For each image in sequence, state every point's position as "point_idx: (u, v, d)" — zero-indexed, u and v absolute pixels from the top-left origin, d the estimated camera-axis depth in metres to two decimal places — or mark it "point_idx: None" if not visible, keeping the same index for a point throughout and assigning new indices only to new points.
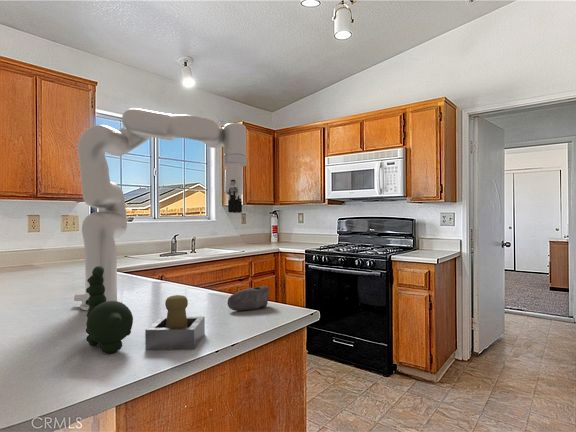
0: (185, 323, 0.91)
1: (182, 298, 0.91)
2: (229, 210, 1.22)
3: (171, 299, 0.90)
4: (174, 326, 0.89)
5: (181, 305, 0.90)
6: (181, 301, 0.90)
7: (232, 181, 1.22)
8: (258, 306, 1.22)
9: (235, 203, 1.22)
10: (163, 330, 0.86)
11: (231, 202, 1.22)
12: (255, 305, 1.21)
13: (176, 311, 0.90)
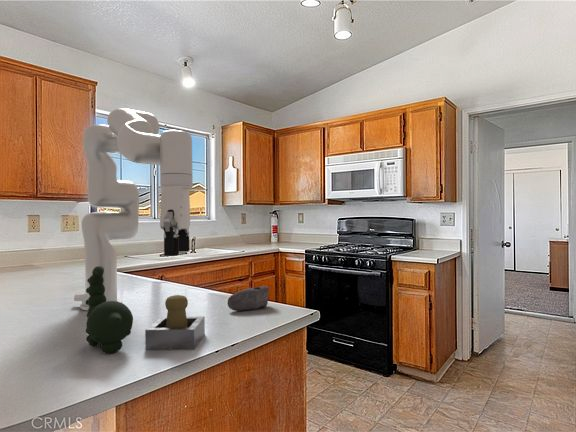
0: (185, 323, 0.91)
1: (182, 298, 0.91)
2: (165, 252, 0.87)
3: (171, 299, 0.90)
4: (174, 326, 0.89)
5: (181, 305, 0.90)
6: (181, 301, 0.90)
7: (169, 212, 0.87)
8: (258, 306, 1.22)
9: (173, 243, 0.86)
10: (163, 330, 0.86)
11: (168, 242, 0.86)
12: (255, 305, 1.21)
13: (176, 311, 0.90)
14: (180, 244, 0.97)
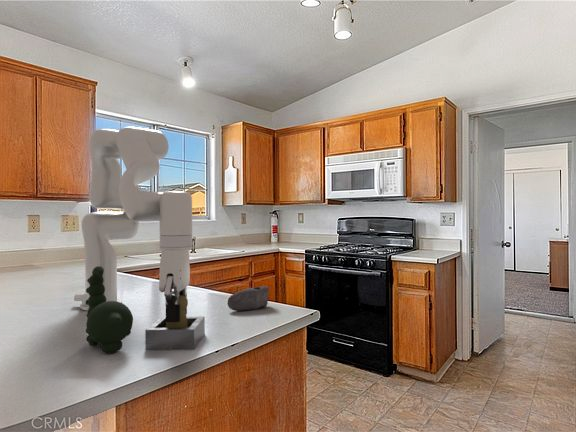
0: (185, 323, 0.91)
1: (182, 298, 0.91)
2: (167, 319, 0.88)
3: None
4: (174, 326, 0.89)
5: (181, 305, 0.90)
6: (181, 301, 0.90)
7: (169, 279, 0.86)
8: (258, 306, 1.22)
9: (174, 310, 0.88)
10: (163, 330, 0.86)
11: (170, 309, 0.88)
12: (255, 305, 1.21)
13: None
14: None
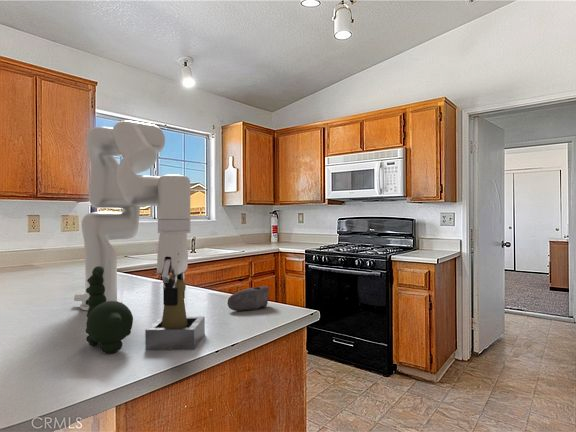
0: (183, 307, 0.91)
1: (180, 282, 0.91)
2: (165, 302, 0.89)
3: None
4: (172, 309, 0.89)
5: (179, 288, 0.90)
6: (179, 285, 0.90)
7: (167, 263, 0.86)
8: (258, 306, 1.22)
9: (172, 294, 0.88)
10: (163, 330, 0.86)
11: (167, 292, 0.88)
12: (255, 305, 1.21)
13: None
14: None
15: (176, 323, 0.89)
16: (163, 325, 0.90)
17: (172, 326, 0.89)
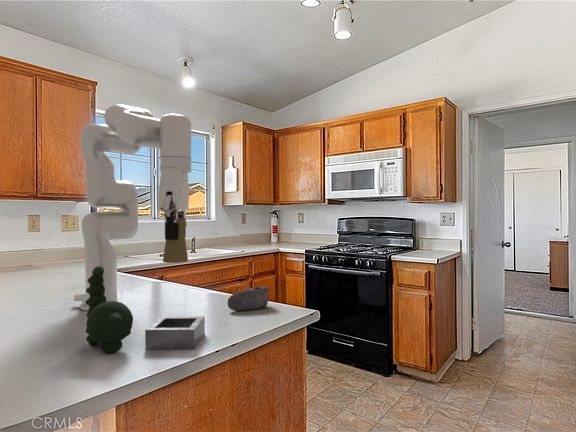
0: (184, 243, 0.94)
1: (181, 218, 0.94)
2: (166, 237, 0.92)
3: None
4: (173, 244, 0.93)
5: (180, 224, 0.93)
6: (180, 221, 0.93)
7: (168, 197, 0.90)
8: (258, 306, 1.22)
9: (173, 228, 0.91)
10: (163, 330, 0.86)
11: (169, 226, 0.91)
12: (255, 305, 1.21)
13: None
14: None
15: (177, 257, 0.93)
16: (165, 259, 0.93)
17: (173, 260, 0.92)
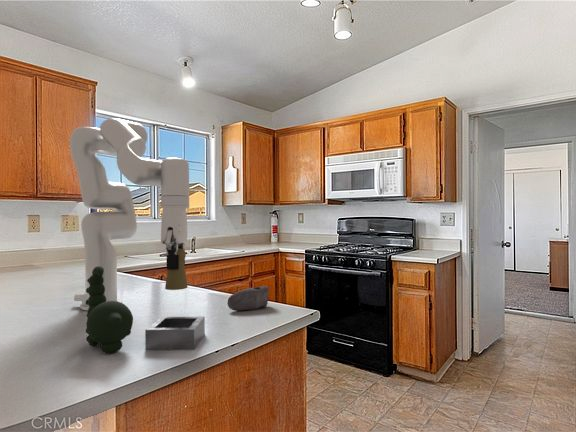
0: (183, 271, 1.06)
1: (181, 250, 1.05)
2: (168, 267, 1.03)
3: None
4: (174, 273, 1.04)
5: (180, 255, 1.05)
6: (180, 252, 1.05)
7: (169, 232, 1.01)
8: (258, 306, 1.22)
9: (174, 259, 1.03)
10: (163, 330, 0.86)
11: (170, 258, 1.03)
12: (255, 305, 1.21)
13: None
14: None
15: (178, 285, 1.04)
16: (167, 287, 1.04)
17: (174, 287, 1.04)
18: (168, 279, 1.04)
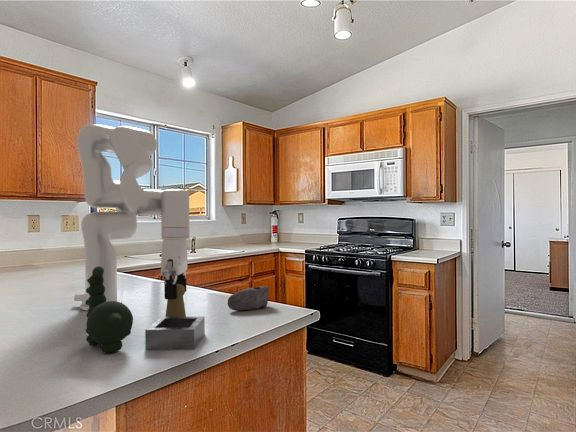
0: (183, 308, 1.06)
1: (180, 286, 1.06)
2: (166, 297, 1.02)
3: None
4: (173, 310, 1.04)
5: (179, 292, 1.05)
6: (179, 289, 1.05)
7: (169, 262, 1.01)
8: (258, 306, 1.22)
9: (172, 289, 1.01)
10: (163, 330, 0.86)
11: (168, 288, 1.01)
12: (255, 305, 1.21)
13: None
14: None
15: None
16: None
17: None
18: (167, 316, 1.05)
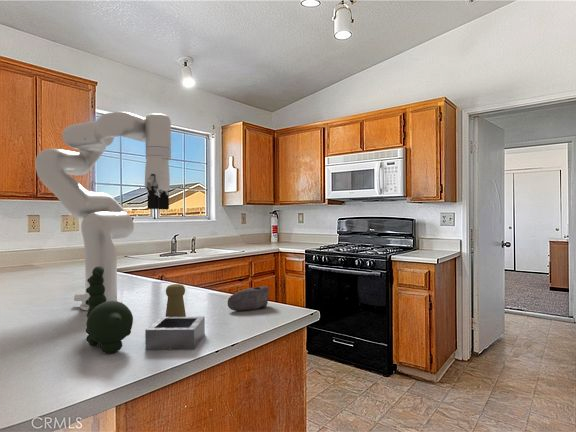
0: (183, 308, 1.06)
1: (180, 286, 1.06)
2: (148, 206, 1.14)
3: (171, 287, 1.05)
4: (173, 310, 1.04)
5: (179, 292, 1.05)
6: (179, 289, 1.05)
7: (151, 175, 1.14)
8: (258, 306, 1.22)
9: (154, 199, 1.14)
10: (163, 330, 0.86)
11: (151, 198, 1.14)
12: (255, 305, 1.21)
13: (175, 297, 1.05)
14: (161, 203, 1.24)
15: None
16: None
17: None
18: (167, 316, 1.05)
